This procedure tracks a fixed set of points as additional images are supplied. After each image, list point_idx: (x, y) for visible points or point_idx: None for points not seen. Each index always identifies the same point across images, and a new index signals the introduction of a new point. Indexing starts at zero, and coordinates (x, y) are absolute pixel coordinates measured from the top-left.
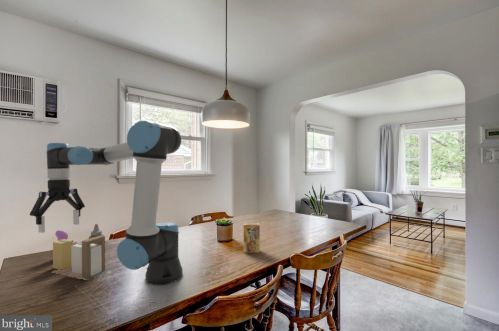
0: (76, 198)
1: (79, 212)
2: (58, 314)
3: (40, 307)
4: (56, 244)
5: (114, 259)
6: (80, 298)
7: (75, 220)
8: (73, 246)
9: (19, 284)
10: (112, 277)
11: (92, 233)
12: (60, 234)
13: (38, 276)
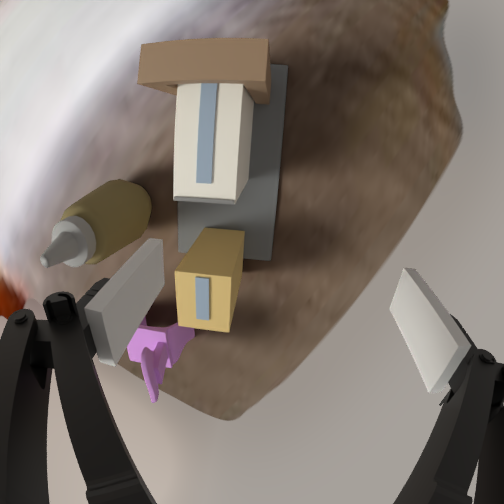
0: (21, 443)
1: (89, 300)
2: (428, 18)
3: (426, 80)
4: (231, 306)
5: (112, 138)
6: (366, 12)
7: (151, 278)
8: (236, 186)
9: (349, 264)
10: (233, 16)
11: (89, 242)
12: (154, 378)
13: (296, 264)
